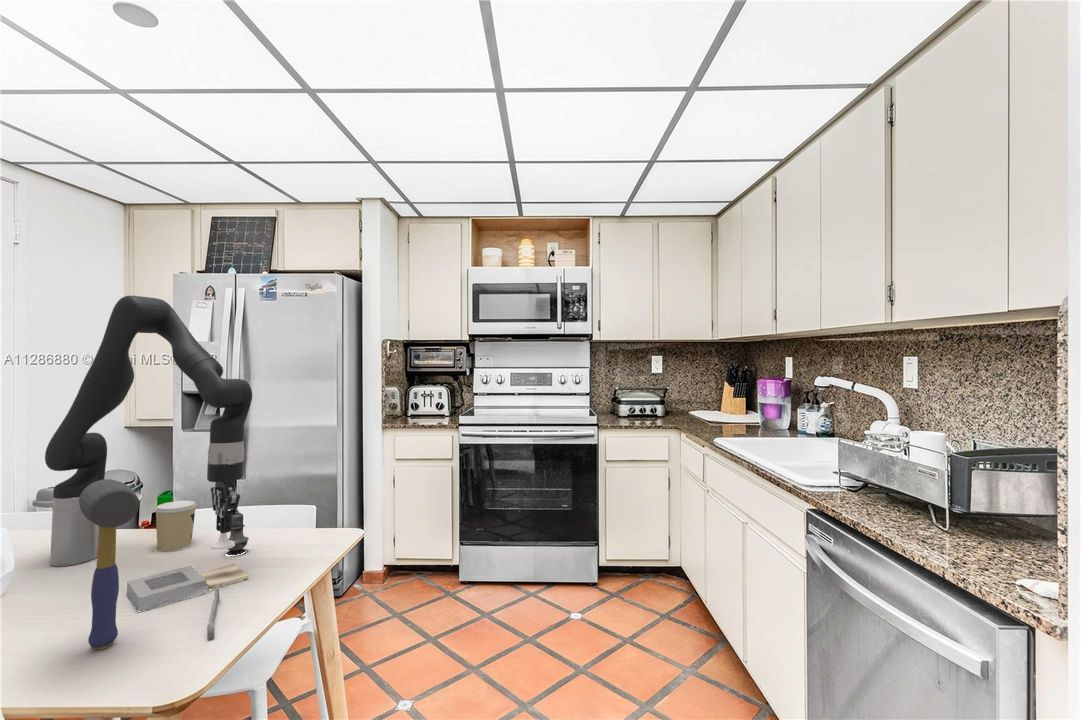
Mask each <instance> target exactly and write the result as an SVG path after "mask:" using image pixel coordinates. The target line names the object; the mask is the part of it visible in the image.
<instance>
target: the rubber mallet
mask: <svg viewBox="0 0 1081 720" xmlns="http://www.w3.org/2000/svg"><path fill="white" fill-rule="evenodd" d="M79 504H80V508H81V511H82V513H83V514H84V516H85V517H86V518H87V519H88V520H89V521H91V522H93V523H94V524H96V525H98V526H99V532H98V549H97V557H96V568H95V569H94V573H93V575H92V576H93V577H92V582H91V583H92V584H91V591H90V597H91V598H90V599H91V607H92V610H91V611H92V612H91V613H92V615H91V628H90V633H89V636H88V645H89V646H90V647H91V650H94V651H97V650H98V651H99V650H104V649H106V648H109V647H110V646H112V645H113V644H114V642H115V640H116V639H117V638H118V634H119V631H118V627H117V603H118V596H119V592H120V591H119V590H120V576H119V569H118V565H117V563H116V553H117V552H116V549H117V548H116V546H117V527H120V526H122V525H125V524H126V523H128V522H130V521H131V520H132V519H133V518H134V517H135V516H136V514H137V513H138V511H139V509H140V508H139V507H140V500H139V497H138V495H137V494H136V492H135V491H134V489H132V487H131V486H129V485H127V484H126V483H124V482H122V481H118V480H115V479H111V478H110V479H109V478H108V479H107V478H106V479H105V478H104V479H103V480H99V481H96V482H94V483H92V484H90V485H89V486H87V487H86V488H85V489H84V490H83V492H82V493H81V495H80V498H79Z"/></svg>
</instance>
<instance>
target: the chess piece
mask: <svg viewBox="0 0 1081 720" xmlns="http://www.w3.org/2000/svg"><path fill="white" fill-rule="evenodd" d="M219 516H220V514H219ZM220 518H221V517H220ZM219 525H220V523H219ZM234 543H235V542H234V541H232V540H229V538H228V532H227V533H221V532H220V535H219V538H218V540H217V541H216V542H214V543H212V544H211V547H210V549H211V550H212V551H225V550H228V549H229V548H232V547H234V546H235V544H234Z"/></svg>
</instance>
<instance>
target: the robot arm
mask: <svg viewBox="0 0 1081 720" xmlns="http://www.w3.org/2000/svg"><path fill="white" fill-rule="evenodd" d="M104 331H105V332H104V335H103V338H102V341H101V342H100V345H99V347H98V350H97V352H96V354H95V357H94V359H93V361H92V363H91V365H90V367H89V368H88V370H87V373H86V374H85V376H84V379H83V381H82V383H81V385H80V387H79V390H78V393H77V394H76V396H75V398H74V400H73V402H72V405H71V406H70V408H69V410H68V411H67V414H66V415H65V417H64V419H63V420H62V421H61V423H60V424H59V426H58V428H57V429H56V430H55V432H54V434H53V435H52V437H51V438H50V440H49V441H48V444H47V447H46V450H45V454H44V460H45V465H46V467H47V468H48V469H50V470H52V471H54V472H65V471H74V470H76V472H75V473H74V474H73V475H72V476H71V477H69V478H67V479H66V480H64V481H62V482H60V483H57V484H56V485H55V486H54V487H53V490H52V491H53V492H52V518H51V538H50V556H49V564H50V566H53V567H64V566H65V567H66V566H74V565H78V564H83V563H86V562H89V561H92V560H94V559H97V549H98V532H99V526H98V525H96V524H94V523H93V522H91V521H89V520H88V519H87V518H86V517H85V516H84V514H83V513H82V511H81V508H80V504H79V498H80V495H81V493H82V492H83V490H84V489H85V488H86V487H87V486H89V485H90V484H92V483H94V482H96V481H99V480H103V479H105V476H106V465H107V459H108V445H107V440H106V438H105V437H104V436H103V435H102V434H101V433H100V432H89V430H90V429H91V428H92V427H93V426H94V425H95V424H96V423H98V422H99V421H101V420H102V419H103V418H105V417H106V416H107V415H109V414H110V413H111V412H113V411H114V410H115V409H116V408H117V407H119V406H120V405H121V404H122V403H123V402H124V400H125V398H127V395H128V393H129V391H130V389H131V388H132V387H131V386H132V385H133V383H134V379H135V373H134V368H133V364H132V361H131V359H130V354H129V353H130V352H129V351H130V348H131V346H132V343H133V340H134V338H135V337H136V335H137V334H157V335H159V336H160V337H162V338H163V339H164V340H166V341H167V342H168V343H169V344H170V347H171V350H172V351H171V352H172V357H173V361H174V363H175V364H176V366H177V367H178V368H179V370H180V371H182V372H183V374H185V375H186V376H187V377H188V379H190V380H191V381H192V382H193V383H194V386H195V388H196V389H197V391H198V393H199V395H200V397H201V399H202V401H204V403H206V404H208V406H210V407H213V408H216V409H223V408H224V410H223V412H222V414H221V415H220V416H218V417H216V418H214V419H213V420H211V422H210V427H209V429H210V430H209V445H208V450H207V468H206V469H207V471H206V473H207V474H206V475H207V476H206V480H207V481H208V482H209V483H210V482H211V483H215V484H214V487H211V488H210V493H211V494H210V495H211V504H212V510H213V512H215V513H214V514H215V516H216V524H215V525H216V526H215V527H216V528H215V530H216V531H217V532H218V531H219V532H220V533H227V534H228V533H231V522H232V516H233V515H236V513H237V512H236V511H237V510H238V506H239V503H240V499H241V495H240V493H237V492H238V488H237V486H236V481H237V480H238V481H239V480H242V479H243V478H244V473H245V472H244V469H245V444H244V439H245V438H244V437H245V436H244V435H245V422H246V420H247V417H248V414H249V411H250V407H251V404H252V400H253V390H252V387H251V385H250V384H249V382H248V381H247V380H245V379H241V378H223V377H222V376H223V373H224V367H223V366H222V365H221V363H219V361H218V360H217V359H216V358H215V357H213V356H212V355H211V354H210V353H209V352H208V351H207V350H206V349H205V348H204V347H203V346H202V345H201V344H200V343H199V342H198V340H196V338H195V337H194V336H193V334H192V333H191V331H190V330H189V328H188V327H187V326H186V325H185V323H184V322H183V321H182V319H181V318H180V316H179V315H178V313H177V312H176V311H175V309H173V307H172V306H171V305H170V304H169V303H168V302H167V301H165V300H164V299H160V298H157V297H150V296H149V297H148V296H140V295H125V296H123V297H121V298H120V299H118V301H117V302H116V303H115V305H114V306H113V308H112V311H111V314H110V316H109V320H108V322H107V326H106V328H105V330H104ZM219 514H220V516H219ZM220 517H221V518H220ZM219 523H220V525H219Z"/></svg>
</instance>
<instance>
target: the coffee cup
mask: <svg viewBox="0 0 1081 720" xmlns="http://www.w3.org/2000/svg"><path fill="white" fill-rule="evenodd" d="M196 507H197V503H196V502H195V501H193V500H177V501H170V502H164V503H161V504H158V505H157V506H156V508H155V509H154V510H155V511H154V512H155V518H156V519H155V521H156V522H155V525H156V527H155V528H156V546H157V550H158V552H163V551H164V552H165V551H166V552H175V551H174V550H176V551H179V550H178V549H180V550H183V549H182V548H184V549H185V547H186V548H188V547H190V546H191V545H192V540H193V532H194V524H195V523H194V522H195V516H196V515H195V513H196ZM190 544H191V545H190ZM189 545H190V546H189ZM187 546H188V547H187ZM166 552H165V553H166Z"/></svg>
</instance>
